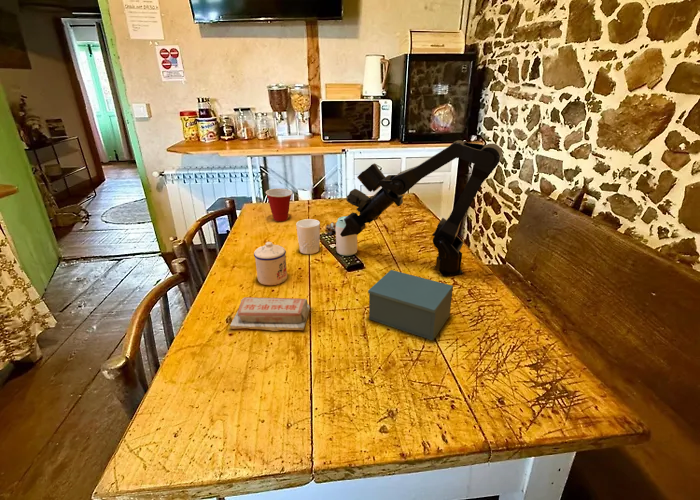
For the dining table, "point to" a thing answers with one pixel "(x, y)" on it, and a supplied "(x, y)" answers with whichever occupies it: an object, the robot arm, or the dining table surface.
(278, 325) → the packaged product
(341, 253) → the can
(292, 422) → the dining table surface
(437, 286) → the lid
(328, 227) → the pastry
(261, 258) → the teacup with lid
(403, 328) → the box
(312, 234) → the white cup
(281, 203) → the plastic cup
